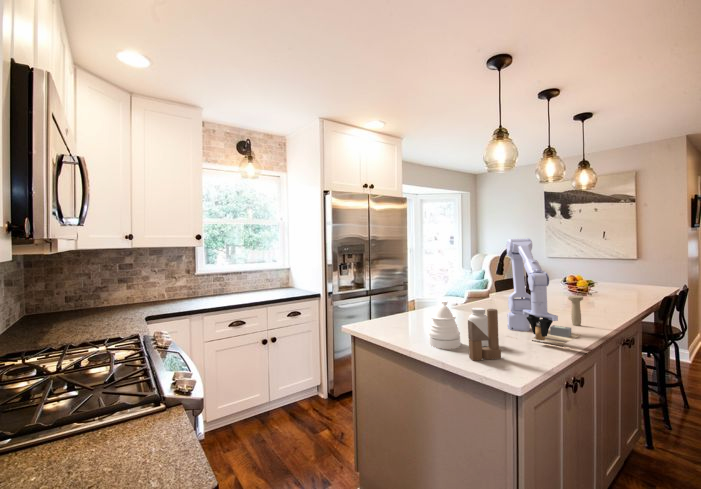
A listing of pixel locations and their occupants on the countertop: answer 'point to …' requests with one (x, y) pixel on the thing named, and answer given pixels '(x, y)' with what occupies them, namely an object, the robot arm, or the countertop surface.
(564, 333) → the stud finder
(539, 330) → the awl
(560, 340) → the panel
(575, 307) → the handle
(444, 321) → the honey pot
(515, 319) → the robot arm
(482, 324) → the pill bottle
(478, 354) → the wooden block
